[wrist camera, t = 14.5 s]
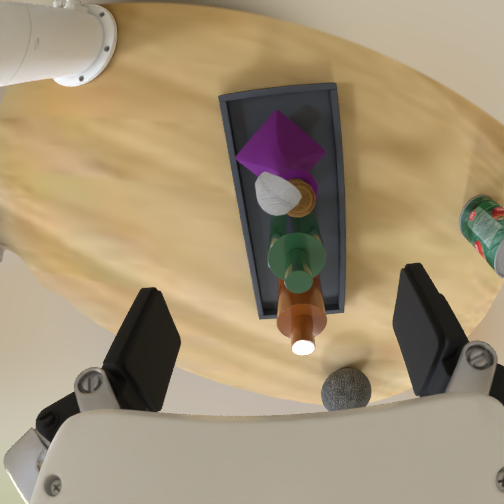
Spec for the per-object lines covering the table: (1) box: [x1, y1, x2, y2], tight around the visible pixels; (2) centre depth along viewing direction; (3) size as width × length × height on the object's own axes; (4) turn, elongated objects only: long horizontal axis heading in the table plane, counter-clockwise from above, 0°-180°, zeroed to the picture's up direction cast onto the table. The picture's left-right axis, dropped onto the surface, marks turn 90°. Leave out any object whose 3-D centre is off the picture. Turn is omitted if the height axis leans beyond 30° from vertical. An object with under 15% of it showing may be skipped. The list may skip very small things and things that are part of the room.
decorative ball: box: [321, 368, 371, 411], centre depth 54 cm, size 10×10×10 cm
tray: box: [218, 83, 346, 319], centre depth 40 cm, size 34×14×2 cm, turn 9°
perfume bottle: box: [235, 110, 326, 217], centre depth 29 cm, size 8×8×18 cm
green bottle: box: [268, 208, 326, 293], centre depth 34 cm, size 6×6×15 cm
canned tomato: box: [459, 195, 504, 278], centre depth 34 cm, size 8×8×11 cm
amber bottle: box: [277, 273, 327, 355], centre depth 39 cm, size 6×6×15 cm
